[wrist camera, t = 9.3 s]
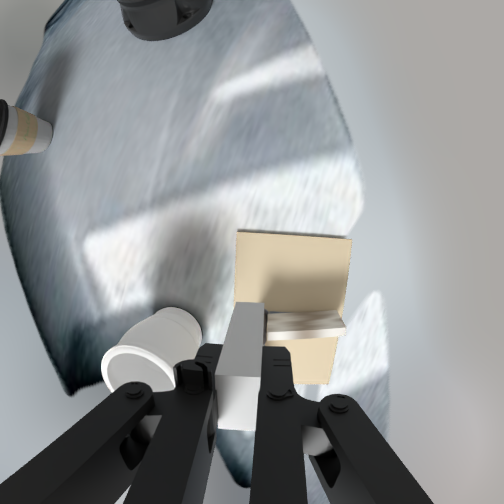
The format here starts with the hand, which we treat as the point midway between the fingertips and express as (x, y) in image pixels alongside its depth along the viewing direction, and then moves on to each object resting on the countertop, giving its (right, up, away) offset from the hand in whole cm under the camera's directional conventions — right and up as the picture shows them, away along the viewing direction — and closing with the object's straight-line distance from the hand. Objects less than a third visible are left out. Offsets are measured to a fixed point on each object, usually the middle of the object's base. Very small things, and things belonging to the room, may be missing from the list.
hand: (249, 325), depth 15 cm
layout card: (+5, -6, +26) cm, 28 cm away
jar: (-12, -8, +28) cm, 32 cm away
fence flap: (+6, -5, +25) cm, 27 cm away
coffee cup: (-38, +25, +24) cm, 51 cm away
